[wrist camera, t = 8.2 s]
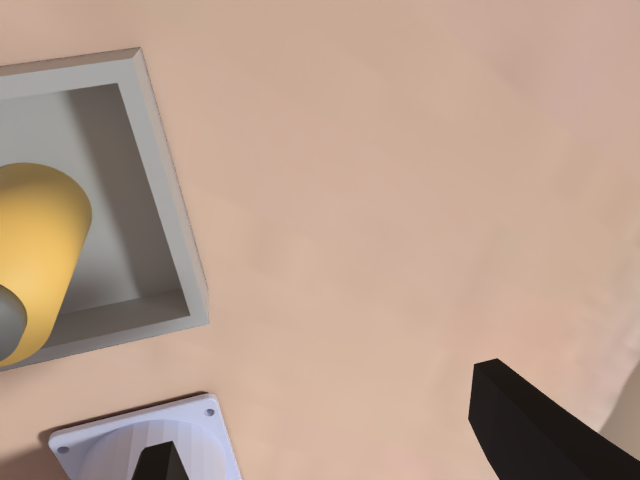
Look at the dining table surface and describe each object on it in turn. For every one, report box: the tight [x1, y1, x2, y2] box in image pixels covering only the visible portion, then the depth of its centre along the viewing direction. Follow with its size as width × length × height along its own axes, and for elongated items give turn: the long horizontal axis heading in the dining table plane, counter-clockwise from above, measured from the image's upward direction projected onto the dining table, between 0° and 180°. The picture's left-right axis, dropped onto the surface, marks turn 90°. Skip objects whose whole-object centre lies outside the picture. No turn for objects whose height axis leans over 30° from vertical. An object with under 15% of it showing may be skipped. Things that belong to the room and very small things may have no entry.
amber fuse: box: [0, 163, 92, 367], centre depth 14 cm, size 4×4×7 cm
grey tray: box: [0, 47, 210, 372], centre depth 16 cm, size 10×10×2 cm
